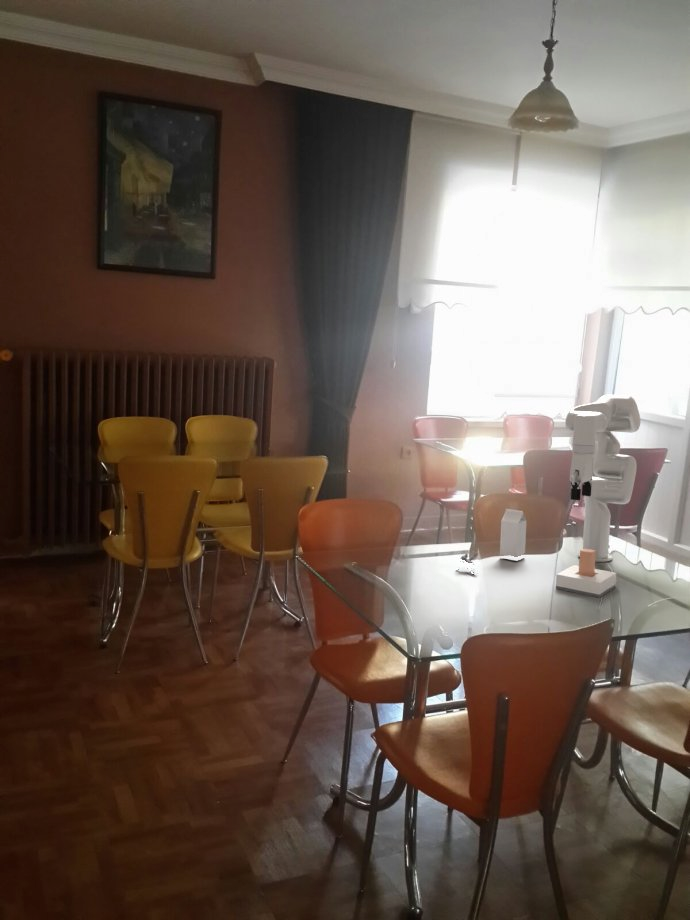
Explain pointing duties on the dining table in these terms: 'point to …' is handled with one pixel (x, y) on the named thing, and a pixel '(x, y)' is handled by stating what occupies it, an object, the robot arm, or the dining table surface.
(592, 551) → the peg
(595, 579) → the socket block
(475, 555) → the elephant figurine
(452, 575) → the dining table surface
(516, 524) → the milk carton
